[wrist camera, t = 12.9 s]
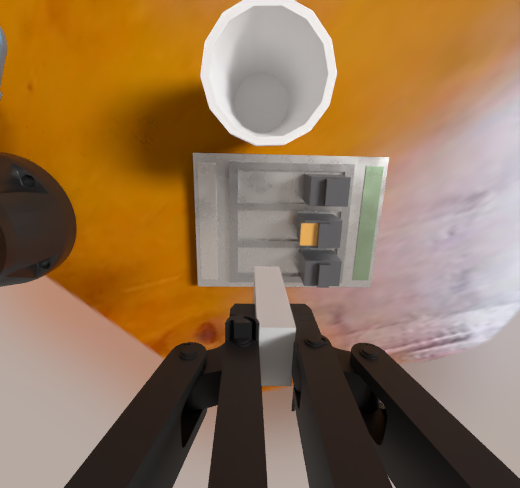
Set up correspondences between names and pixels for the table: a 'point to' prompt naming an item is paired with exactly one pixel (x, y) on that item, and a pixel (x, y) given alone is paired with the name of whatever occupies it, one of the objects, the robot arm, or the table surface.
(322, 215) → the breaker
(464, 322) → the table surface
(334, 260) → the breaker
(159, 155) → the table surface
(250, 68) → the foam cup
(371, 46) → the table surface
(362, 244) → the panel
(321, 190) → the block
